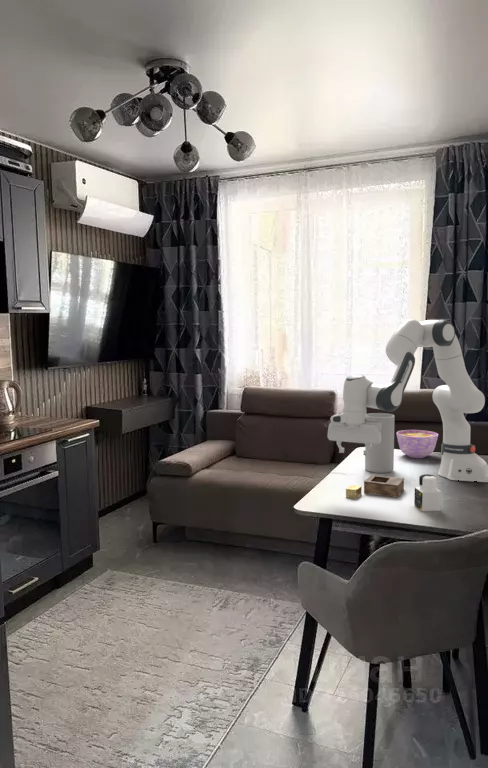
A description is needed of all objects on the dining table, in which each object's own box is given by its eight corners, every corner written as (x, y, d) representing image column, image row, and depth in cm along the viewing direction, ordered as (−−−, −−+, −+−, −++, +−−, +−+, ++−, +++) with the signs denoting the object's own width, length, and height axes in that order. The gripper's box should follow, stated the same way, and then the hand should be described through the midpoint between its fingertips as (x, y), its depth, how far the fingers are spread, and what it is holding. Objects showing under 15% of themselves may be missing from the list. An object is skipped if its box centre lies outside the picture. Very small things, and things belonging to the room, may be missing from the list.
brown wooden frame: (403, 489, 232) (403, 478, 231) (397, 497, 222) (397, 485, 221) (371, 485, 237) (371, 474, 237) (363, 492, 228) (364, 481, 227)
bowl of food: (387, 454, 295) (388, 431, 294) (420, 450, 302) (421, 428, 301) (412, 462, 277) (412, 438, 276) (446, 458, 284) (447, 435, 283)
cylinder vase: (383, 465, 271) (384, 412, 268) (398, 472, 259) (400, 416, 256) (359, 468, 267) (360, 414, 264) (374, 474, 255) (375, 418, 253)
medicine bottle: (414, 505, 211) (414, 473, 210) (433, 505, 212) (433, 472, 211) (421, 511, 204) (422, 478, 203) (441, 511, 205) (442, 477, 204)
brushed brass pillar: (361, 495, 225) (361, 486, 225) (355, 499, 220) (355, 490, 220) (351, 493, 228) (351, 484, 227) (345, 497, 222) (345, 488, 222)
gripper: (383, 418, 219) (382, 455, 220) (331, 414, 228) (331, 449, 230) (379, 421, 213) (378, 458, 215) (326, 417, 223) (325, 452, 224)
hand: (353, 453), depth 222 cm, fingers open, 8 cm apart
